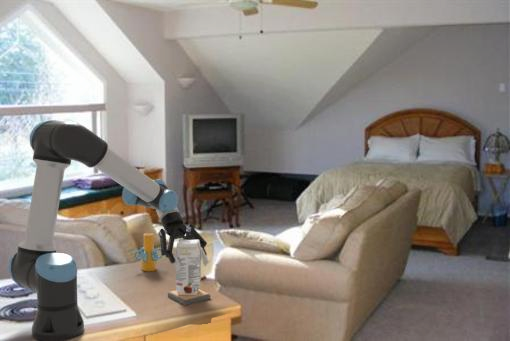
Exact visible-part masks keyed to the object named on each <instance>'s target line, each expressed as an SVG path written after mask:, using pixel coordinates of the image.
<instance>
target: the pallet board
mask: <svg viewBox="0 0 510 341" xmlns="http://www.w3.org/2000/svg"><path fill="white" fill-rule="evenodd" d="M167 297H168V298H170V299H171V300H174V301H176V302H177V303H180V304H182V305H183V306H187V305H190V304H194V303H198V302H201V301H206V300H209V299H211V294H210V293H208V292H206V291H204V290H202V289H200V288H199V290H198V293H197V295H178V294H177V290H171V291H168V292H167Z"/></svg>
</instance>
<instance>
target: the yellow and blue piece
mask: <svg viewBox="0 0 510 341" xmlns="http://www.w3.org/2000/svg"><path fill="white" fill-rule="evenodd" d="M154 235H155V234H154V233H151V232H147V233H143V247H142V246H141V248H140V249H138V250H135V252H134V253H133V257H134V258H133V259H135V260H137V261H141V270H142V271H143V272H153V271H154V272H155V271H156V270H157V261H158V260H159V259H161V258H162V257H163V255H161V254H160V255H159V254H158V252H157V251H160V252H161V247H160V248H155V247H154V238H155V236H154ZM138 253H140V257H139V258H138V257H137V254H138Z"/></svg>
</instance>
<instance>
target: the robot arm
mask: <svg viewBox="0 0 510 341" xmlns="http://www.w3.org/2000/svg"><path fill="white" fill-rule="evenodd" d="M29 145H30V147H31V149H32V151H33V153H32V154H33V155H32V161H33V163H35V166H36V169H35V175H34V180H33V185H32V186H33V187H32V193H31V199H30V203H29V204H30V205H29V209H28V210H29V211H28V216H27V217H28V218H27V222H26V223H27V224H26V230H25V236H24V240H23V241H21V242H20V243H18V245H17V251H16V252H15V253H14V254H13V255H12V256H11V257H10V259H9V262H8V275H9V277H10V278H11V280H12V281H13V282H14V283H15V284H17V285H18V286H19V287H21V288H24V289H27V290H29V291H31V292H33V293H36V304H37V310H36V313H35V316H34V318H33V319H34V320H33V324H32V326H31V335H32V336H31V337H32V338H34V339H35V340H37V341H67V340H71V339H73V338H76V337H78V336H80V335H81V334H83V333H84V331H85V323H84V322H85V321H84V318H83V316H82V314H81V310H80V308H79V306H78V279H77V278H78V267H77V261H76V260H75V258H74V257H73V256H71V255H70V254H67V253H60V252H57V247H56V245H55V244H54V238H55V237H54V236H55V230H56V224H57V220H58V219H57V218H58V212H59V208H60V207H59V206H60V201H61V194H62V189H63V183H64V176H65V170H66V169H67V168H69V167H70V166H71V165H72V161H75V162H78V163H81V164H82V165H85V166H86V167H88V168H89V169H92V168H95V169H96V170H98V171H99V172H101V173H102V174H104V175H105V176H106V177H108V178H110V179H111V180H113V181H114V182H115V183H118V184H119V185H120V186H121V187H123V189H122V191H121V192H122V194H121V197H122V201H123V202H124V204H125V205H127V206H128V205H129V206H140V207H145V208H148V209H149V208H150V209H154V210H155V212H156V214H157V216H158V218H159V220H160V223H161V225H162V228H161V229H159V231H158V233H157V234H158V237H159V239H160V240H159V242H160V243H159V244H160V249H161V251H160V256H161V255H163V256H165V257H166V258H168V260H169V262H170V264H172V265H173V267H174V268H175V272H176V271H177V272H179V271H180V269H181V268H182V267H181V265H180V263H179V261H178V259H177V256H176V251H174V252H173V249H174V243H175V240H180V239H185V240H198V239H199V241H200V246H201V263H202V264H203V267H207V266H208V265H209V263H210V261H209V259H208V257H207V254H208V253H207V252H206V249H205V248H206V246H207V245H208V242H207V241H206V240H205V239H204V238H203V237H202V236H201V234H200V233H199V232H198V231H197V229H195V227H194V225H193V224H191V223H190V224H189V225H185V223H184V219H183V217H182V216H181V213H180V211H179V209H178V207H177V206H178V203H179V196H178V194H177V192H175V190H172V189H169V187H168V186H167V184H166V182H165V181H164V180H163V179H162V178H161V179H160V178H158V179H152V178H150V177H149V176H148V175H146V174H145V173H143V172H142V171H141V170H140V169H138V168H137V167H135V166H134V165H133V164H131V163H130V162H129V161H127V160H125V159H124V158H123V157H122V156H120V155H119V154H117V153H116V152H115V151H114V150H112V149H111V148H110V147H109V144H108V142H106V141H105V140H104V139H102V138H101V137H100V136H98V135H97V134H96V133H94V132H93V131H92V130H90V129H89V128H87V127H86V126H84V125H82V124H80V123H78V122H75V121H64V120H56V119H51V120H50V119H49V120H43V121H41V122H39V123H38V124H36V125H35V126H34V127H33V128H32V130H31V132H30V135H29ZM167 236H169V238H168V245H167ZM163 256H162V257H163Z"/></svg>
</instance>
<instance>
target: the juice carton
mask: <svg viewBox="0 0 510 341" xmlns="http://www.w3.org/2000/svg"><path fill="white" fill-rule="evenodd" d="M175 254H176V256H177V259H178V261H179V263H180V265H181V267H182V268H181V269H180V271H179V272H177V271H176V270H175V289H176V290H177V294H178V295H197V293H198V290H199V289H200V287H201V278H202V276H201V274H202V272H201V271H202V269H201V268H202V265H201V264H202V260H201V246H200V241H199V239H198V240H185V239H183V238H181V239H178V241H177V244H176V249H175Z"/></svg>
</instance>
